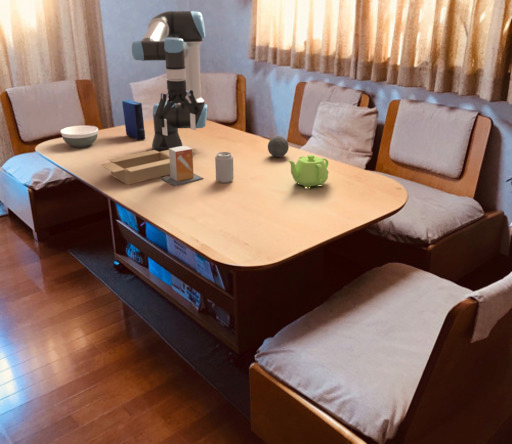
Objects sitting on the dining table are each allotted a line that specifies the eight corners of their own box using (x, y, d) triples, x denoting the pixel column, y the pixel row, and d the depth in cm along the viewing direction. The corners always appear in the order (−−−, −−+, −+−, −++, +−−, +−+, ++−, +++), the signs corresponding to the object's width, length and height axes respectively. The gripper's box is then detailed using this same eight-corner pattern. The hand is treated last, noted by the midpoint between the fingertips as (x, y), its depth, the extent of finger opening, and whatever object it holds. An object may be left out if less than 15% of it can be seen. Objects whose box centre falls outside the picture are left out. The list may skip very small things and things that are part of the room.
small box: (177, 181, 223) (175, 151, 218) (170, 177, 228) (168, 148, 223) (194, 178, 227) (192, 148, 222) (187, 174, 232) (185, 145, 227)
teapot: (319, 194, 212) (321, 164, 207) (286, 189, 217) (287, 159, 212) (331, 181, 226) (333, 152, 221) (299, 176, 231) (300, 148, 226)
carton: (166, 160, 252) (165, 147, 249) (190, 171, 237) (189, 158, 234) (97, 175, 232) (95, 162, 229) (119, 189, 217) (118, 174, 214)
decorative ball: (277, 161, 251) (278, 140, 247) (263, 156, 258) (263, 136, 253) (292, 157, 257) (293, 136, 253) (278, 152, 264) (278, 132, 259)
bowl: (107, 144, 277) (106, 128, 274) (79, 152, 263) (77, 136, 260) (83, 138, 287) (81, 123, 283) (54, 146, 272) (52, 131, 269)
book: (147, 139, 285) (143, 102, 276) (138, 141, 281) (134, 103, 273) (133, 134, 294) (129, 98, 286) (124, 136, 291) (120, 99, 283)
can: (236, 178, 228) (235, 151, 223) (229, 184, 222) (229, 157, 217) (220, 177, 231) (219, 150, 226) (213, 182, 224) (212, 155, 219)
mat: (189, 172, 236) (188, 171, 235) (203, 179, 228) (203, 177, 228) (161, 179, 228) (161, 178, 227) (174, 186, 220) (174, 185, 220)
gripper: (197, 75, 220) (199, 125, 229) (143, 81, 206) (148, 135, 215) (207, 77, 215) (209, 128, 224) (153, 84, 201) (157, 139, 210)
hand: (179, 132), depth 219 cm, fingers open, 13 cm apart
